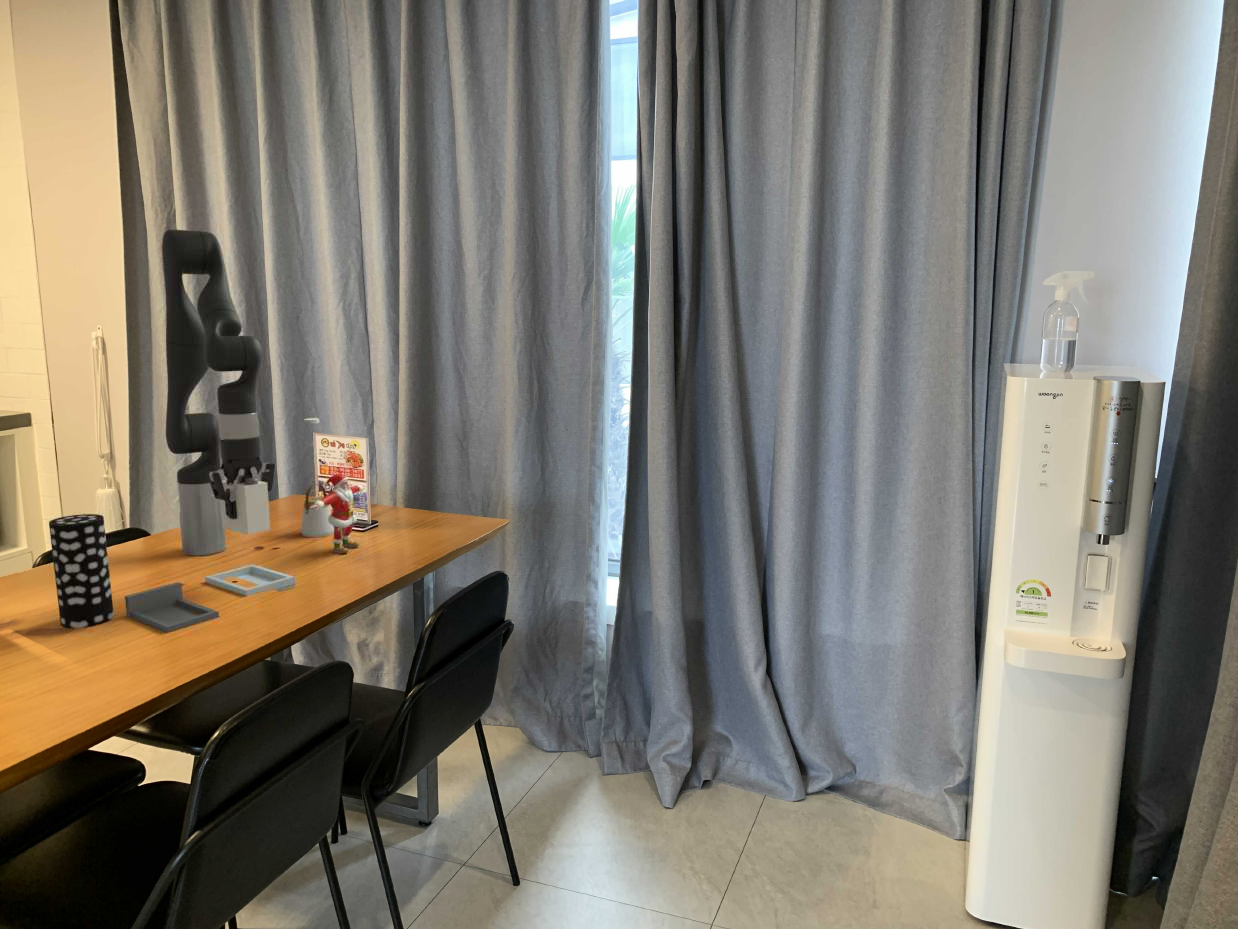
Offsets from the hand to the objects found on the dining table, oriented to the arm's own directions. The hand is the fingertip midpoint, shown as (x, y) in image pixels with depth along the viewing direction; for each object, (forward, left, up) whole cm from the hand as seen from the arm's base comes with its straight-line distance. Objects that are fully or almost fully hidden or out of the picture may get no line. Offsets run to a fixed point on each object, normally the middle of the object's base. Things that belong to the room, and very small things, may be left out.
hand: (245, 515), depth 174 cm
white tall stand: (-25, +35, -16) cm, 46 cm away
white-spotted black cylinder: (-4, -30, -16) cm, 34 cm away
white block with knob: (0, 0, -3) cm, 3 cm away
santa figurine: (-7, +29, -16) cm, 34 cm away
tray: (0, 0, -15) cm, 15 cm away
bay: (+7, -20, -15) cm, 26 cm away
